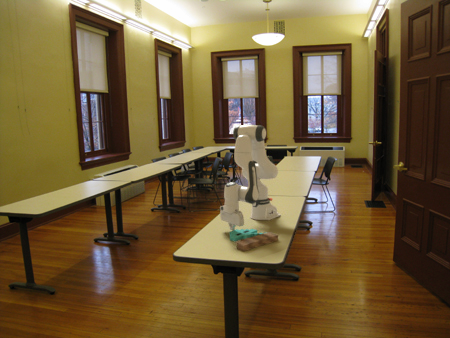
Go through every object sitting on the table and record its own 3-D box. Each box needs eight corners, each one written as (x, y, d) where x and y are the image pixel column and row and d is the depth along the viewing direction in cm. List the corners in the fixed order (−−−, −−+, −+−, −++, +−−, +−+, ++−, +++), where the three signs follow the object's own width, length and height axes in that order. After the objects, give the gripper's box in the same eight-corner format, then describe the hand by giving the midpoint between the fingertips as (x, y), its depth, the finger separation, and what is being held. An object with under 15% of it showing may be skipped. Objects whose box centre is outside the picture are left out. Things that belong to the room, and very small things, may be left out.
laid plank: (268, 237, 218) (268, 231, 218) (278, 240, 212) (278, 235, 212) (234, 247, 203) (234, 241, 203) (243, 251, 197) (243, 245, 196)
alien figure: (268, 236, 220) (244, 230, 234) (268, 232, 220) (243, 226, 234) (247, 245, 206) (222, 237, 220) (246, 241, 206) (221, 234, 220)
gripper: (246, 210, 220) (246, 232, 222) (226, 204, 236) (226, 225, 238) (238, 212, 216) (238, 235, 218) (218, 206, 233) (219, 227, 235)
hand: (232, 229), depth 229 cm, fingers closed
